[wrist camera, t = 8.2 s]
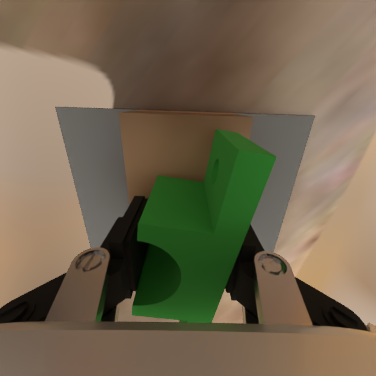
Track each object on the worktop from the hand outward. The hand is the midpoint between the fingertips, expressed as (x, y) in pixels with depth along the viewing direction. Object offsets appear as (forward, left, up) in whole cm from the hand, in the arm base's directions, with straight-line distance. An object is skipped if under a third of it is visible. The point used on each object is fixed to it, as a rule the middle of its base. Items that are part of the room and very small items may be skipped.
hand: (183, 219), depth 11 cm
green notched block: (0, 0, -1) cm, 1 cm away
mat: (+1, 0, -7) cm, 7 cm away
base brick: (0, 0, -6) cm, 6 cm away
